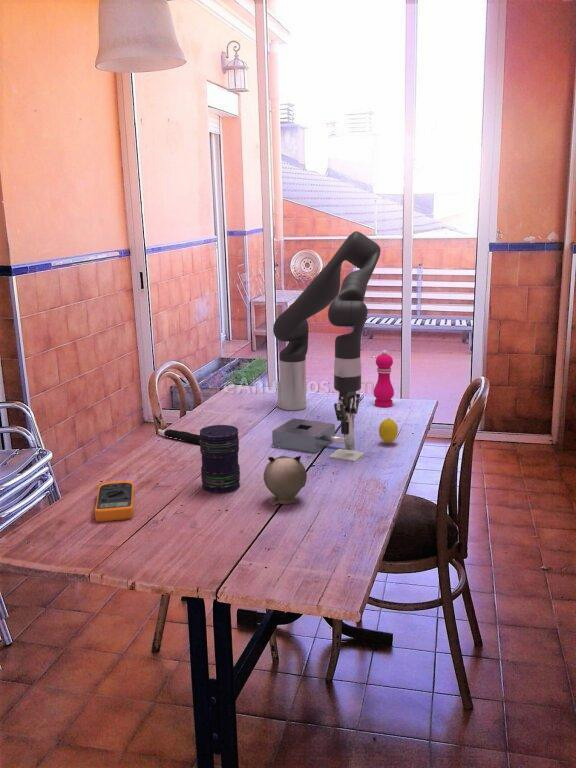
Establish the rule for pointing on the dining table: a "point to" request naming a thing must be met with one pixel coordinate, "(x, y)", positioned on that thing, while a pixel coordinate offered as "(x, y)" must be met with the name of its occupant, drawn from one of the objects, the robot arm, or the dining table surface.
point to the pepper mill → (383, 381)
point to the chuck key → (350, 432)
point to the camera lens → (219, 459)
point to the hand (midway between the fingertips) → (347, 432)
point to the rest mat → (346, 455)
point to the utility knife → (181, 435)
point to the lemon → (388, 430)
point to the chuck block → (305, 435)
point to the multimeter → (114, 501)
